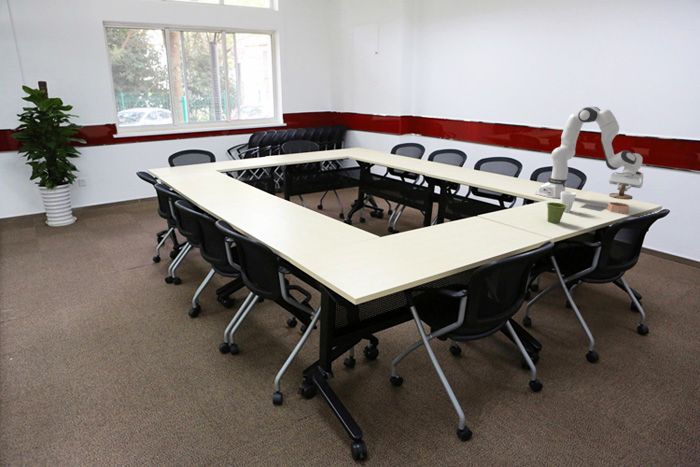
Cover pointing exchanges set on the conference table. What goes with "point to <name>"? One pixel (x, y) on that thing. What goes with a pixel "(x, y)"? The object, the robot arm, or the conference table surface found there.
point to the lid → (621, 193)
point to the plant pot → (555, 211)
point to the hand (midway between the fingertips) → (622, 190)
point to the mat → (593, 207)
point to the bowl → (617, 207)
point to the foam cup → (567, 199)
